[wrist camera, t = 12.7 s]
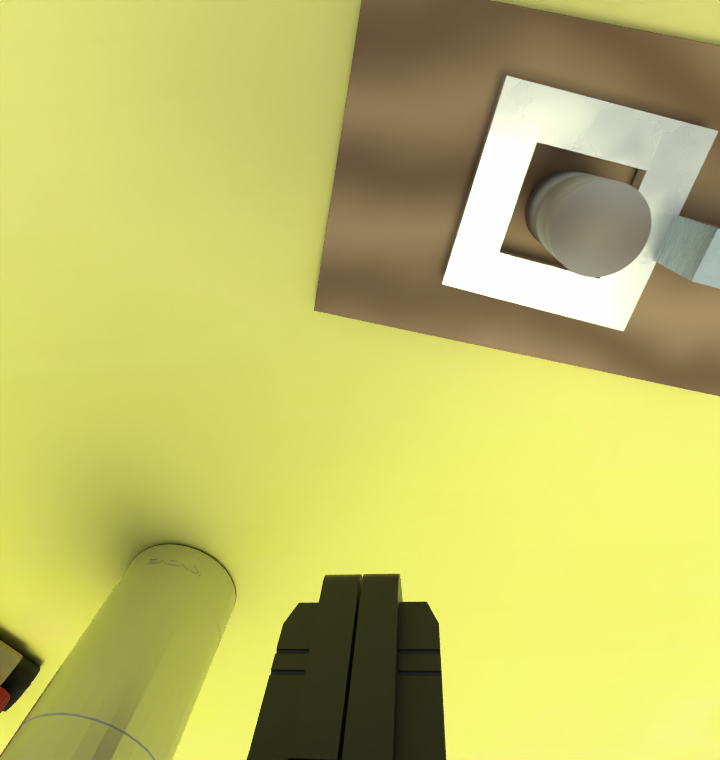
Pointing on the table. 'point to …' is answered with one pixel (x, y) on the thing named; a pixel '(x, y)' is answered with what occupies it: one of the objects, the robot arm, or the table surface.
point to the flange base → (538, 192)
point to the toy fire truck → (14, 675)
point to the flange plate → (598, 140)
